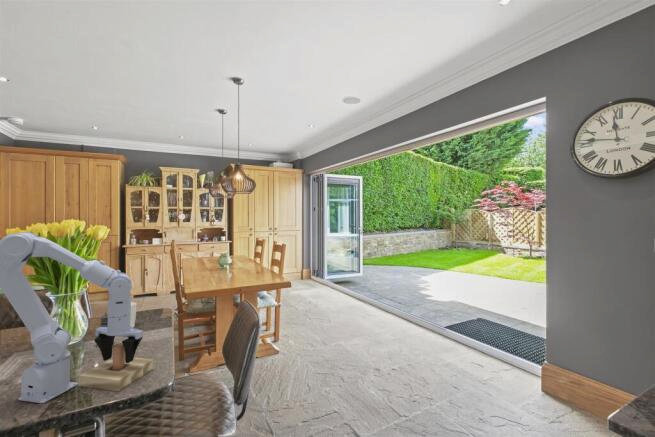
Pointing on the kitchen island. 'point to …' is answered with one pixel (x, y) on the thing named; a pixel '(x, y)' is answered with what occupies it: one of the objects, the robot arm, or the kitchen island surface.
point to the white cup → (133, 314)
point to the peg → (118, 357)
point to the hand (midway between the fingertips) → (118, 360)
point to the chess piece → (104, 322)
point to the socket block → (115, 374)
